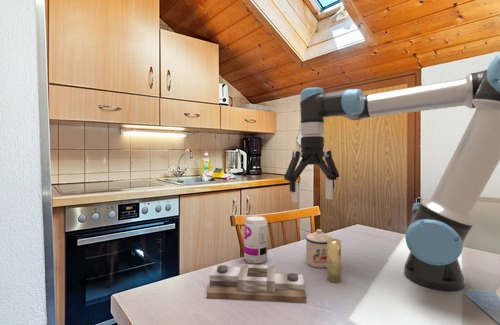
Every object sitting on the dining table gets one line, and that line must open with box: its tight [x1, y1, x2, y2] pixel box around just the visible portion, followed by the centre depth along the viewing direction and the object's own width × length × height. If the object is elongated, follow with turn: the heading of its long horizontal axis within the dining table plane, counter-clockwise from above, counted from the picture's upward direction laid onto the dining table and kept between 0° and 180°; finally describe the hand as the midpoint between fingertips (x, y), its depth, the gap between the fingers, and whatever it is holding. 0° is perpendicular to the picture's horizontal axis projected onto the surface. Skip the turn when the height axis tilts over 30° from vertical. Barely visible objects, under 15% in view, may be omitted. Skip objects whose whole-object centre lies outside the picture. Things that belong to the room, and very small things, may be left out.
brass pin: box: [326, 238, 342, 284], centre depth 82 cm, size 4×4×12 cm
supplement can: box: [243, 215, 268, 265], centre depth 97 cm, size 8×8×15 cm
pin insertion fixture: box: [206, 263, 307, 304], centre depth 78 cm, size 26×13×6 cm, turn 85°
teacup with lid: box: [305, 228, 333, 269], centre depth 95 cm, size 12×9×12 cm
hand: (312, 200), depth 91 cm, fingers open, 13 cm apart
